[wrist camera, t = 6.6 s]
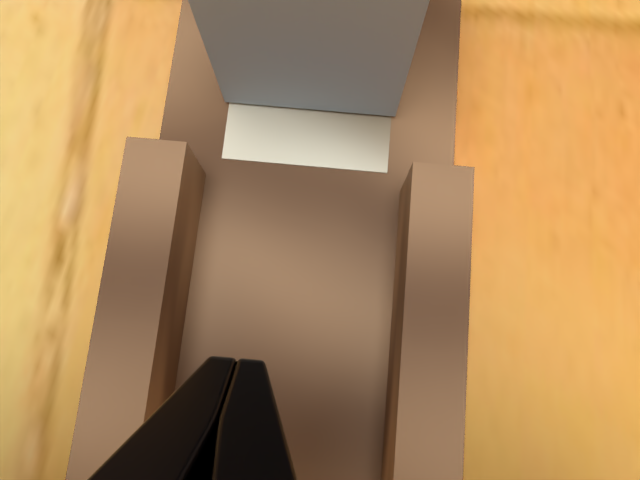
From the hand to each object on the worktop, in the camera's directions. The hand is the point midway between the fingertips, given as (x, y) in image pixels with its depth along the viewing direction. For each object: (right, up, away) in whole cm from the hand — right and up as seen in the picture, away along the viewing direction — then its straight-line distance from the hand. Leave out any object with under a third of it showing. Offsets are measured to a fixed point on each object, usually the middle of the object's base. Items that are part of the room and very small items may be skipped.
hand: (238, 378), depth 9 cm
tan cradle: (+1, +3, +8) cm, 9 cm away
